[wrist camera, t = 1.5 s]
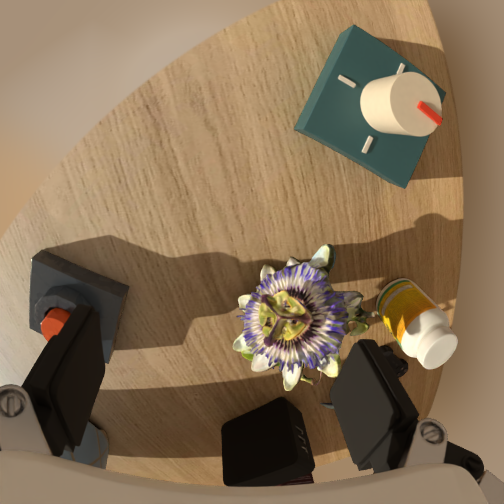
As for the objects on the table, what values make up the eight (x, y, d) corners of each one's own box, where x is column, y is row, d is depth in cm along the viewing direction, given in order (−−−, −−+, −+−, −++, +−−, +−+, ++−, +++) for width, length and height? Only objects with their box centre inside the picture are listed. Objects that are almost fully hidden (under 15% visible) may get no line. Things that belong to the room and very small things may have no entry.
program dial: (351, 114, 20) (382, 112, 15) (372, 68, 18) (405, 58, 14) (395, 143, 21) (431, 149, 16) (414, 99, 19) (451, 97, 15)
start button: (47, 329, 24) (40, 340, 22) (49, 301, 23) (40, 311, 21) (78, 343, 25) (72, 355, 23) (81, 316, 24) (74, 327, 22)
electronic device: (300, 408, 36) (317, 470, 27) (239, 436, 37) (244, 495, 28) (284, 394, 34) (299, 461, 25) (220, 424, 36) (222, 487, 27)
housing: (37, 317, 27) (22, 337, 24) (42, 249, 25) (21, 266, 21) (113, 351, 30) (103, 375, 26) (129, 286, 27) (117, 309, 23)
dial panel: (293, 129, 23) (303, 129, 20) (340, 33, 20) (354, 23, 17) (388, 182, 25) (406, 189, 22) (427, 94, 22) (447, 92, 19)
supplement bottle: (423, 284, 30) (473, 333, 21) (398, 323, 32) (439, 377, 23) (391, 269, 29) (443, 321, 20) (365, 312, 30) (405, 372, 22)
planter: (6, 410, 34) (-30, 491, 16) (23, 364, 30) (-35, 475, 12) (91, 463, 40) (73, 547, 22) (134, 435, 36) (116, 551, 18)
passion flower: (262, 250, 32) (315, 214, 21) (337, 305, 34) (411, 296, 23) (202, 340, 29) (228, 355, 18) (288, 392, 30) (351, 423, 19)
